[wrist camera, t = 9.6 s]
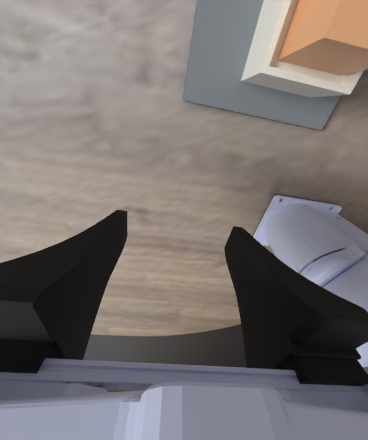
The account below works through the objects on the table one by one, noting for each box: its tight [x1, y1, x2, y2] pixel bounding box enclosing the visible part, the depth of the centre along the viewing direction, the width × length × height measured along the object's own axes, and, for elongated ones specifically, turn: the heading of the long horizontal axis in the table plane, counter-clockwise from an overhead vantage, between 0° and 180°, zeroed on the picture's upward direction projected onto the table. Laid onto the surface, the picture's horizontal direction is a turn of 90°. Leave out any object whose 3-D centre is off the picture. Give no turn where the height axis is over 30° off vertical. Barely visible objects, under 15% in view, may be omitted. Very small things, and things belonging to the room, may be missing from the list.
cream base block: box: [241, 0, 364, 98], centre depth 11 cm, size 7×7×4 cm
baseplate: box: [183, 0, 341, 130], centre depth 14 cm, size 14×9×1 cm, turn 80°
